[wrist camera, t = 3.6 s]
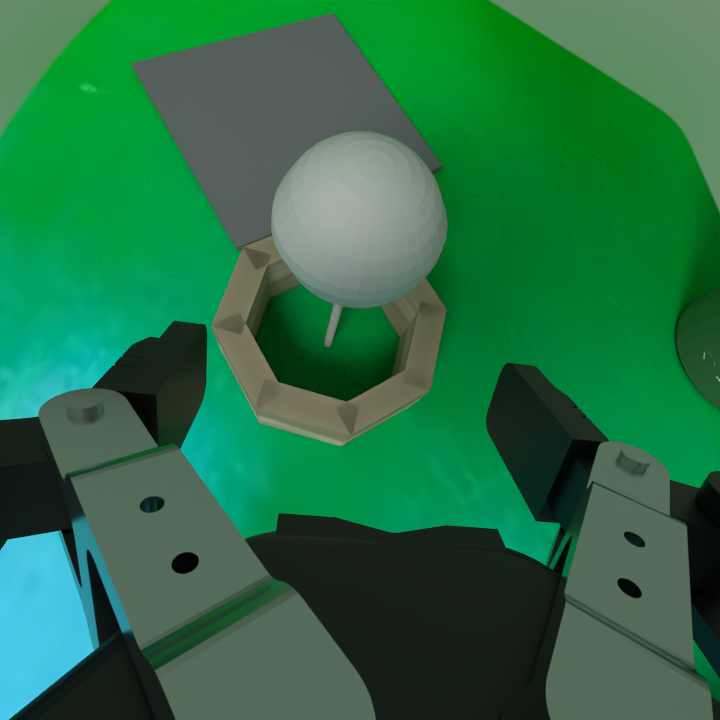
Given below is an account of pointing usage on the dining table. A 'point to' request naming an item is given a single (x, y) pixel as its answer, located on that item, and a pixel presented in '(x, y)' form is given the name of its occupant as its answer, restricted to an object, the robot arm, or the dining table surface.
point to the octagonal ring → (308, 409)
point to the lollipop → (359, 221)
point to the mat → (268, 111)
